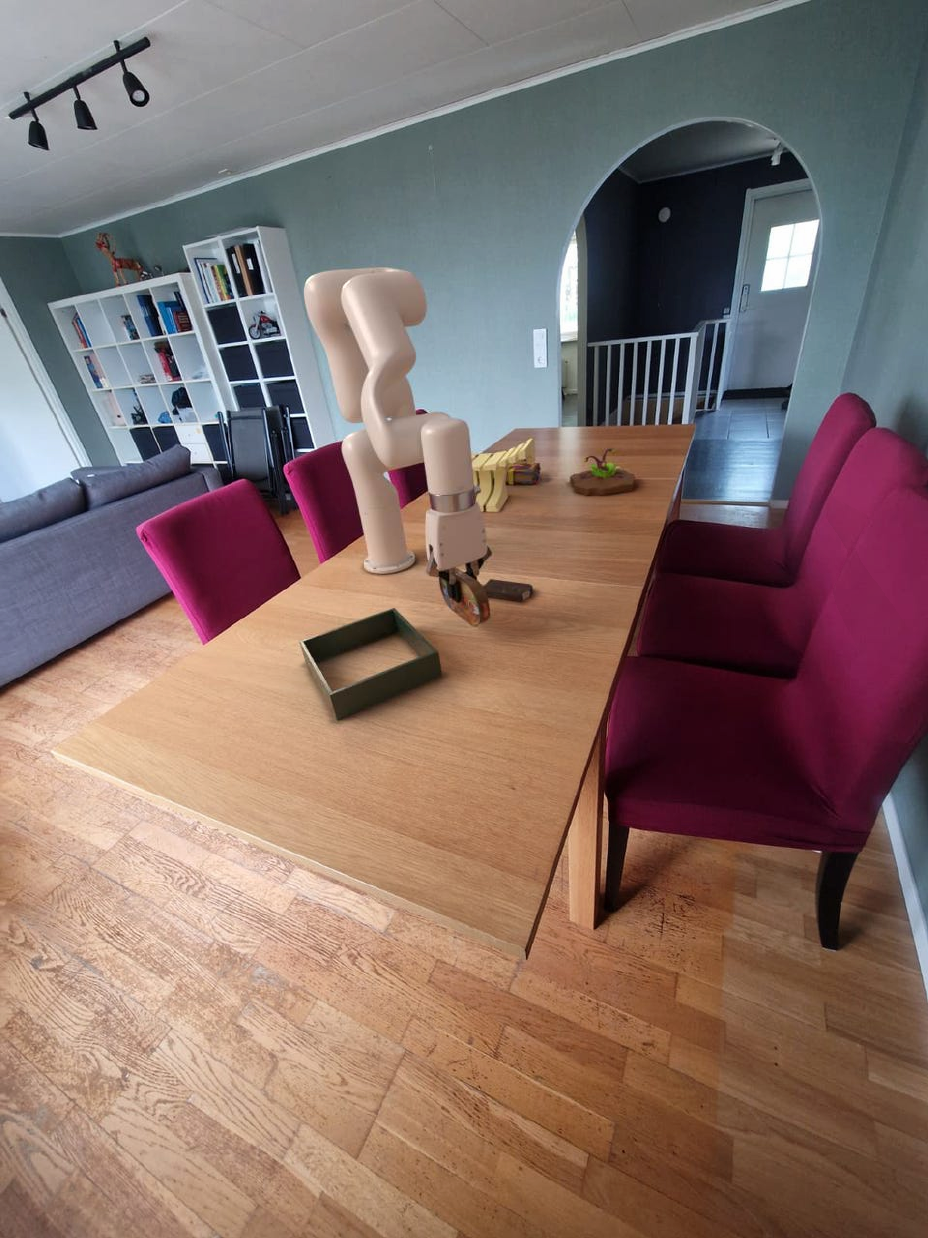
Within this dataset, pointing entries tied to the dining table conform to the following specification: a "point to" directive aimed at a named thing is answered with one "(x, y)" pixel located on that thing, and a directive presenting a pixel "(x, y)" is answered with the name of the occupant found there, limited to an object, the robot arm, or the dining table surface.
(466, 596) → the tin
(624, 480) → the plant
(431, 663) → the box
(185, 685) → the dining table surface
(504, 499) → the slatted curved stool
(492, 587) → the ice cream bar
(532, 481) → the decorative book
